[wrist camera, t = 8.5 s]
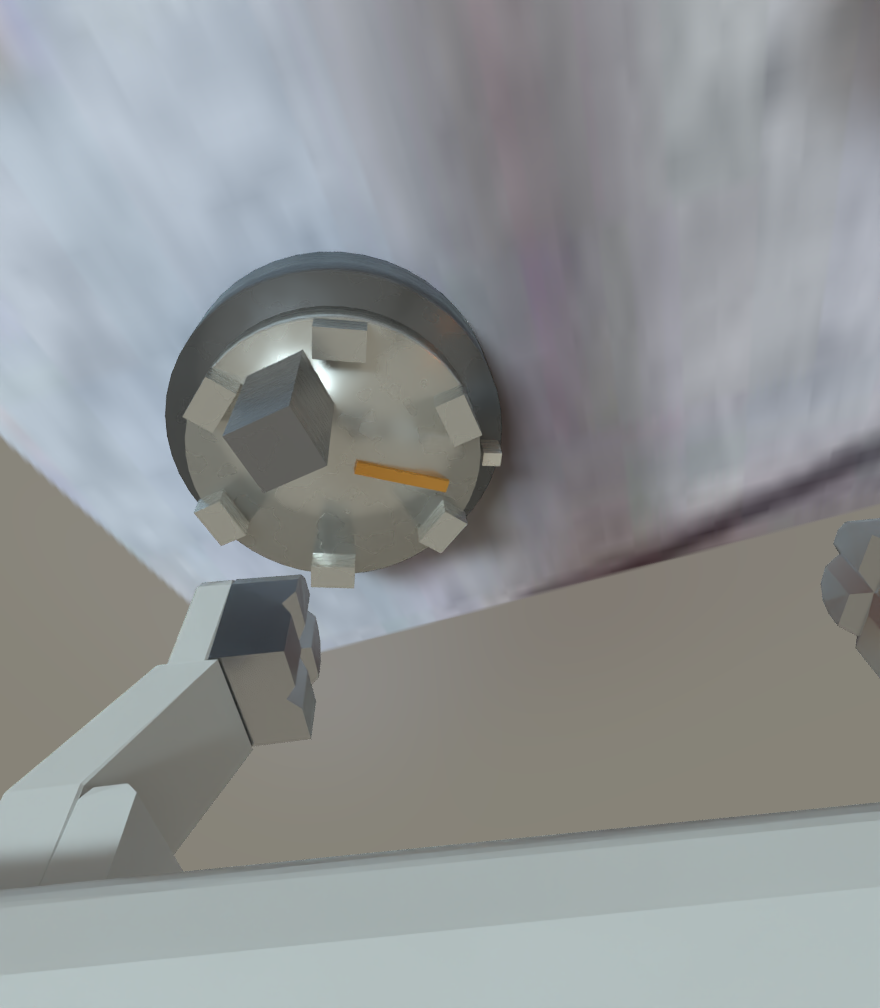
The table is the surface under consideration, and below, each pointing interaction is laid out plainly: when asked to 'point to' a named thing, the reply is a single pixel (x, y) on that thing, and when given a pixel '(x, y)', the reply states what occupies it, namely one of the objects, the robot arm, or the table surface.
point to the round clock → (332, 443)
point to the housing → (347, 286)
